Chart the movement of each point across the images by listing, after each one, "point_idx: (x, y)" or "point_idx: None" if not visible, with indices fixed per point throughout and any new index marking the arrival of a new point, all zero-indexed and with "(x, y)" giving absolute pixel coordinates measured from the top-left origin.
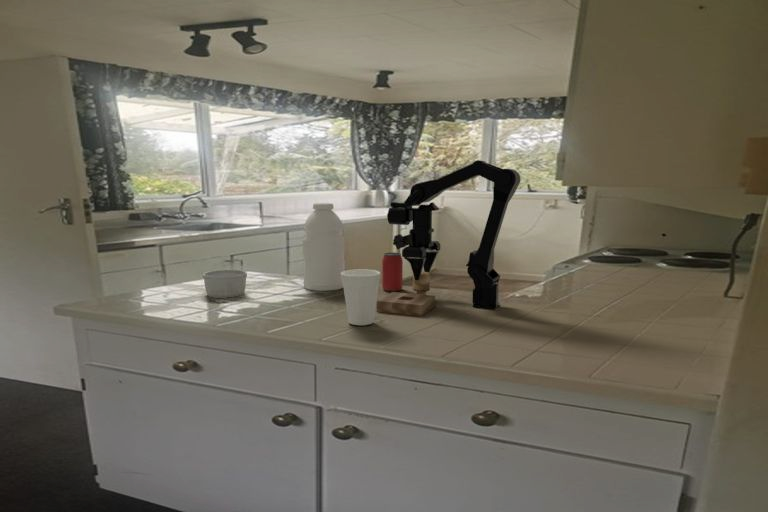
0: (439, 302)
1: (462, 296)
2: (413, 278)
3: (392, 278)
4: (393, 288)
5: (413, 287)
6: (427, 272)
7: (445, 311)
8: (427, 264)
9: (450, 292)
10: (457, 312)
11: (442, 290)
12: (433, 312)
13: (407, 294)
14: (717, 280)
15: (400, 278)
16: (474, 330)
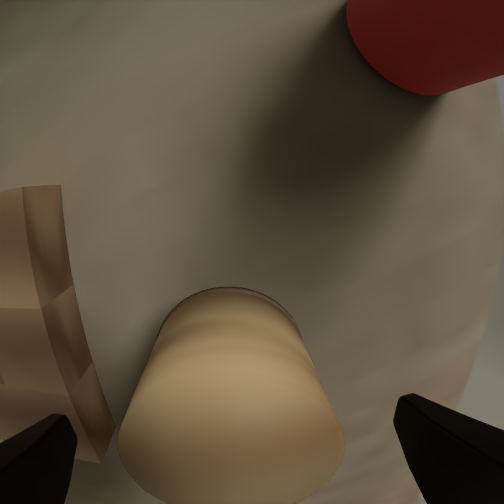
0: None
1: (375, 450)
2: (158, 360)
3: (395, 5)
4: (364, 46)
5: (173, 315)
6: (307, 489)
7: (76, 463)
8: (453, 492)
9: (446, 378)
10: (96, 490)
11: (479, 326)
12: None
13: (20, 322)
14: None
15: (453, 68)
16: None
